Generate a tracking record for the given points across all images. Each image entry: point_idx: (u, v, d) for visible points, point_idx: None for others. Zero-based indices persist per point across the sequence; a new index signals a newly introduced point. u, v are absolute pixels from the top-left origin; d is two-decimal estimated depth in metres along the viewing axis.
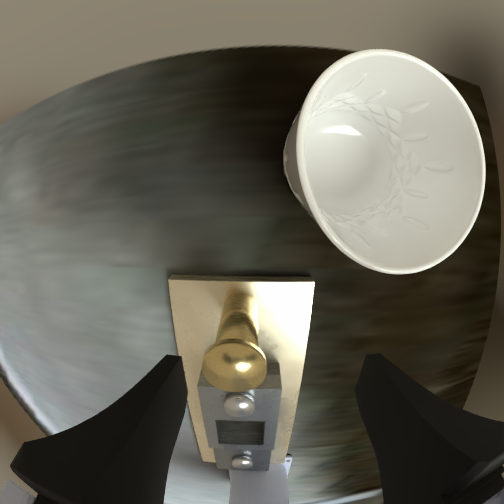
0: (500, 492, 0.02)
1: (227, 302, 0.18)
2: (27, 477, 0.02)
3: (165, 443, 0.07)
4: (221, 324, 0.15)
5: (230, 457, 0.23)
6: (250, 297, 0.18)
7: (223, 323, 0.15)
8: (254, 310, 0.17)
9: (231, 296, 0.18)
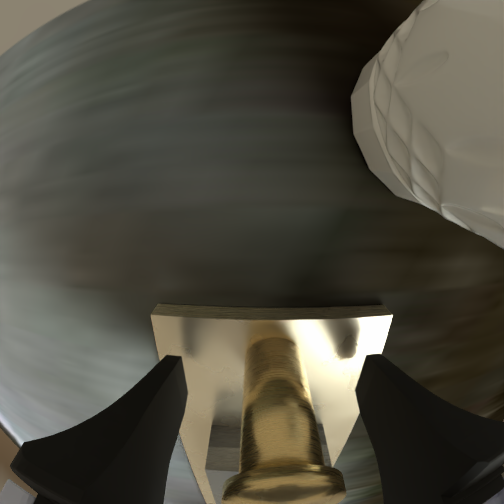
0: (500, 492, 0.02)
1: (254, 357, 0.10)
2: (27, 477, 0.02)
3: (165, 443, 0.07)
4: (250, 409, 0.07)
5: None
6: (292, 345, 0.10)
7: (253, 407, 0.07)
8: (303, 371, 0.09)
9: (260, 344, 0.10)
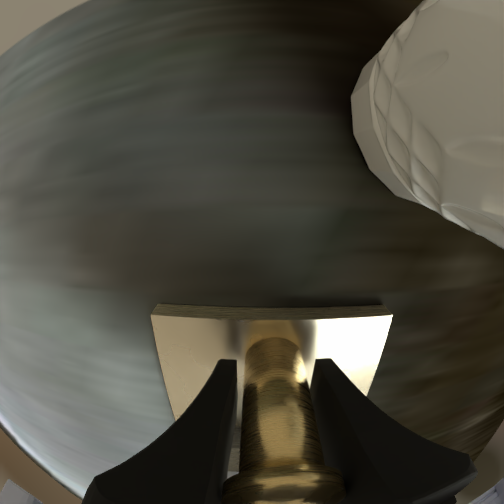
0: (500, 492, 0.02)
1: (254, 357, 0.10)
2: None
3: (227, 450, 0.07)
4: (250, 409, 0.07)
5: None
6: (292, 345, 0.10)
7: (253, 407, 0.07)
8: (303, 371, 0.09)
9: (260, 344, 0.10)
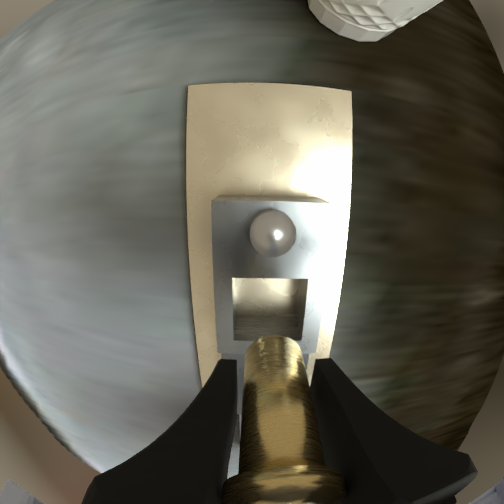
0: (500, 492, 0.02)
1: (254, 355, 0.10)
2: None
3: (227, 450, 0.07)
4: (250, 408, 0.07)
5: None
6: (293, 343, 0.10)
7: (253, 406, 0.07)
8: (304, 370, 0.09)
9: (260, 343, 0.10)
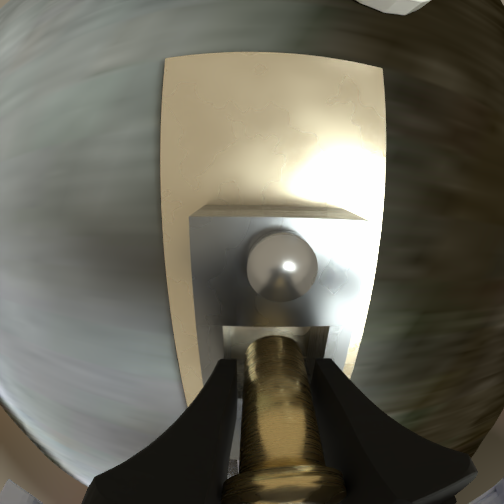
0: (500, 492, 0.02)
1: (254, 355, 0.10)
2: None
3: (227, 450, 0.07)
4: (250, 408, 0.07)
5: None
6: (293, 343, 0.10)
7: (254, 406, 0.07)
8: (304, 370, 0.09)
9: (260, 342, 0.10)
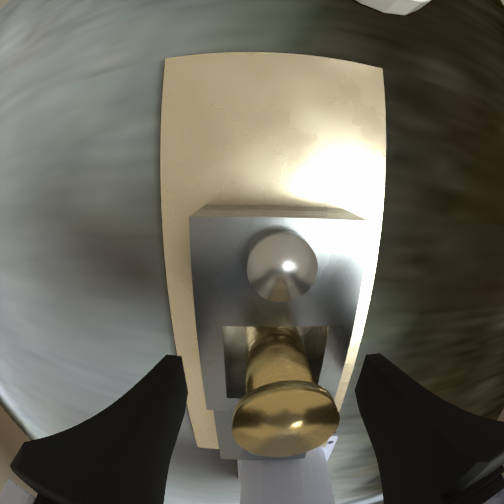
0: (500, 492, 0.02)
1: None
2: (27, 477, 0.02)
3: (165, 443, 0.07)
4: (254, 354, 0.10)
5: None
6: None
7: (256, 351, 0.09)
8: (296, 330, 0.11)
9: None
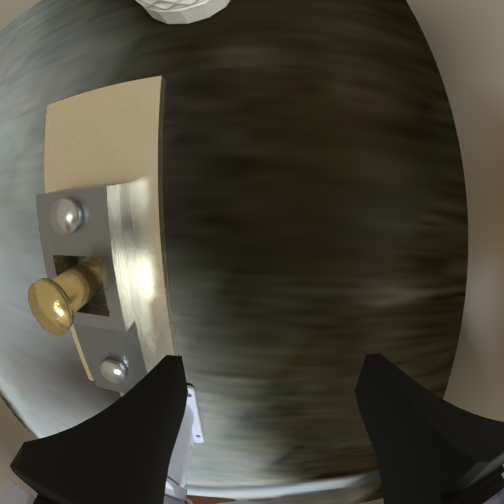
0: (500, 492, 0.02)
1: None
2: (27, 477, 0.02)
3: (165, 443, 0.07)
4: None
5: (99, 359, 0.18)
6: None
7: None
8: (99, 266, 0.16)
9: None
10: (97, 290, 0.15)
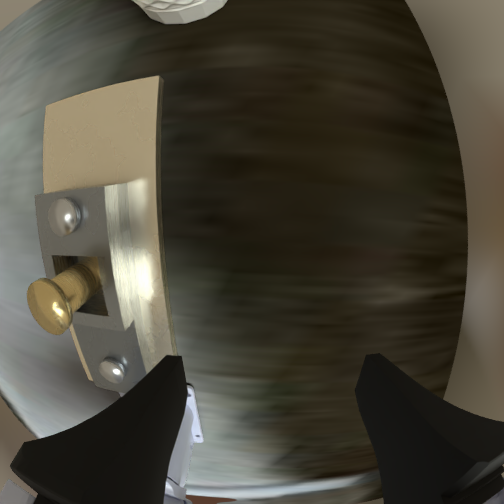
0: (500, 492, 0.02)
1: None
2: (27, 477, 0.02)
3: (165, 443, 0.07)
4: None
5: (98, 359, 0.18)
6: None
7: None
8: (98, 266, 0.16)
9: None
10: (96, 290, 0.15)
